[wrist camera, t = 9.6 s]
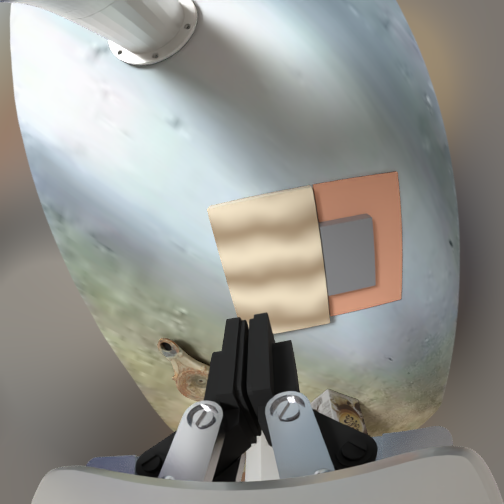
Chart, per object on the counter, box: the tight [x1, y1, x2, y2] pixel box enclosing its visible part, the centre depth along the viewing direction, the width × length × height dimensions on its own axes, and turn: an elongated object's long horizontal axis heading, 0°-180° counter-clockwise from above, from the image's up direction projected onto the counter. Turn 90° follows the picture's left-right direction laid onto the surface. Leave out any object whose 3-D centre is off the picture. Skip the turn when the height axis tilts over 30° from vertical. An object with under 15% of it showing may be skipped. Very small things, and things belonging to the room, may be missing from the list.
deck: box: [207, 185, 330, 334], centre depth 38 cm, size 20×13×2 cm, turn 12°
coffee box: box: [310, 389, 368, 435], centre depth 43 cm, size 9×6×16 cm
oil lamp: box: [158, 338, 210, 401], centre depth 43 cm, size 9×21×10 cm, turn 28°
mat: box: [313, 172, 402, 316], centre depth 38 cm, size 20×12×1 cm, turn 12°
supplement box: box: [245, 431, 280, 482], centre depth 49 cm, size 9×9×15 cm
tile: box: [318, 213, 376, 296], centre depth 37 cm, size 10×7×2 cm
